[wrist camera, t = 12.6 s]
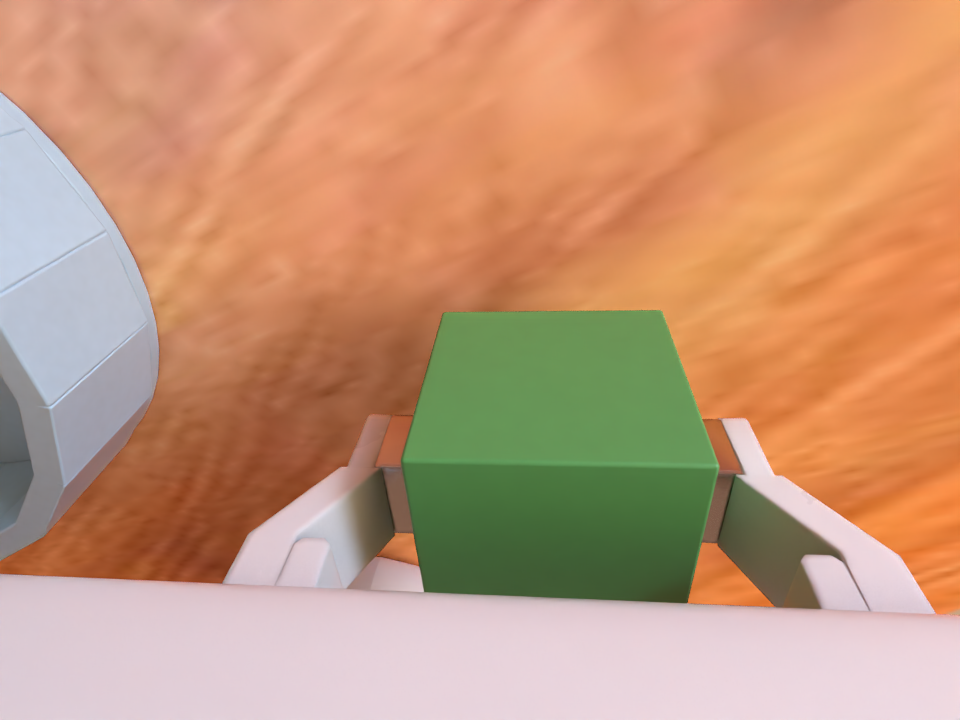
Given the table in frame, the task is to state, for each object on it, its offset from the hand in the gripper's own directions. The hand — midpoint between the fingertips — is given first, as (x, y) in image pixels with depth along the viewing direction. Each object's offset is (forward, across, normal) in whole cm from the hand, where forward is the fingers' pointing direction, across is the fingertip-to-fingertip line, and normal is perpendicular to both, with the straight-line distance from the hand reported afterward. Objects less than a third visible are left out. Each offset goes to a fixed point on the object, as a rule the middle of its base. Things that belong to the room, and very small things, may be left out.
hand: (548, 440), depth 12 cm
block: (+2, 0, 0) cm, 2 cm away
